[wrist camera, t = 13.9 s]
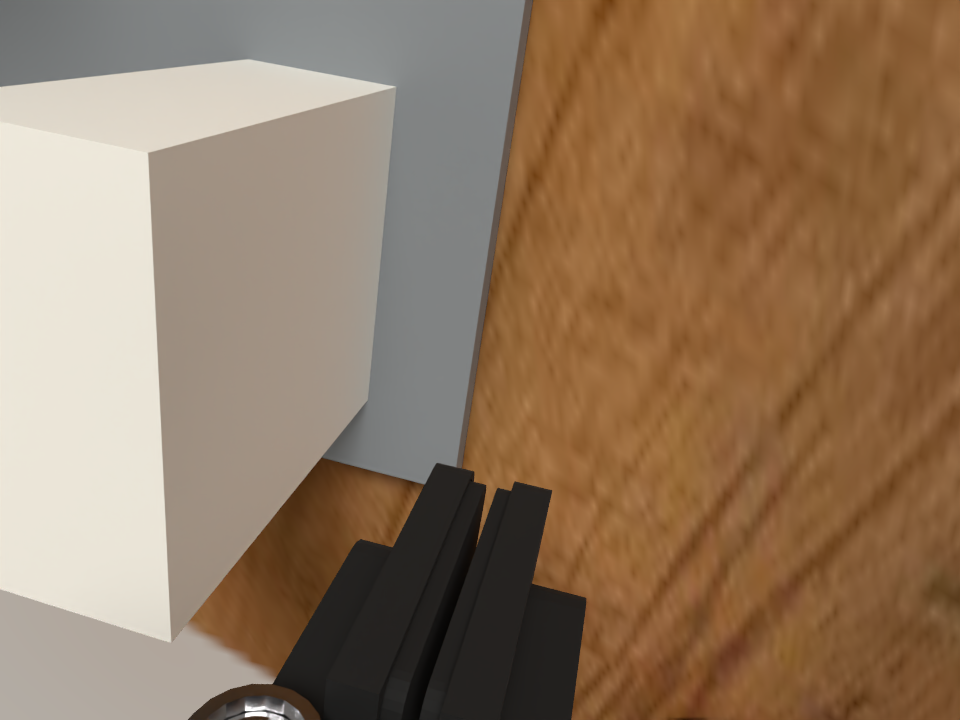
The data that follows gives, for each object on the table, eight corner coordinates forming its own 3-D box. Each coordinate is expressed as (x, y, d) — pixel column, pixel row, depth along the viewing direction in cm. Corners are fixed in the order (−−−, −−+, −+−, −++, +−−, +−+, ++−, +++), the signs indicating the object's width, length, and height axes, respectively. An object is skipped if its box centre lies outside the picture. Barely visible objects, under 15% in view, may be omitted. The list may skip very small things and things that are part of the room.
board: (533, -7, 18) (526, -7, 17) (460, 474, 25) (452, 491, 24) (-103, -105, 21) (-138, -110, 20) (-25, 349, 27) (-49, 361, 26)
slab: (396, 86, 19) (147, 152, 10) (367, 400, 23) (171, 642, 14) (248, 59, 20) (-108, 98, 11) (245, 369, 24) (-17, 583, 15)
